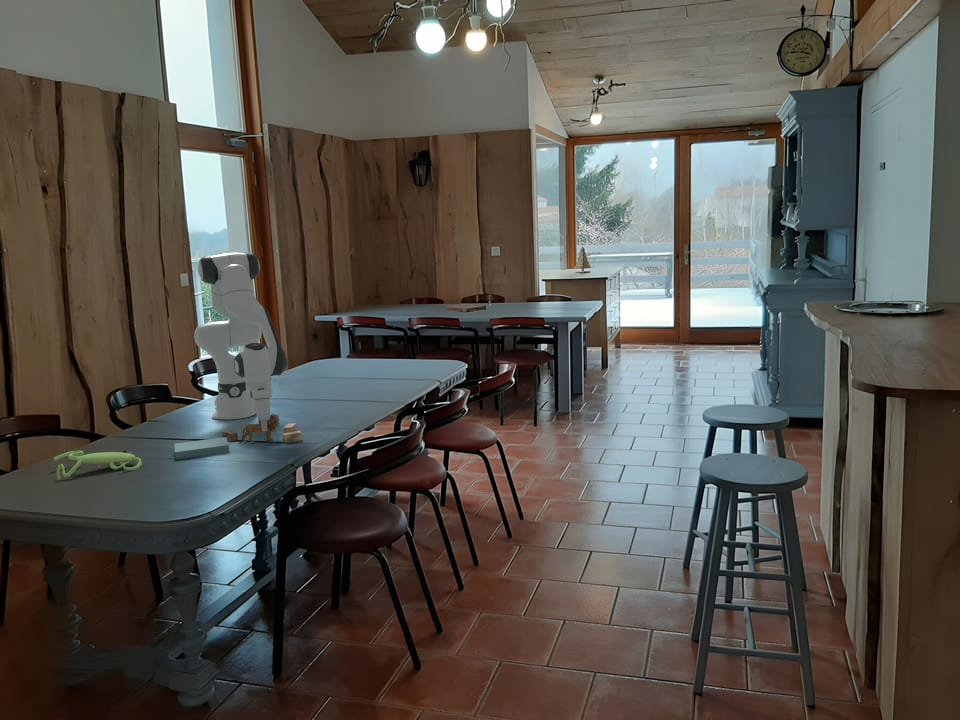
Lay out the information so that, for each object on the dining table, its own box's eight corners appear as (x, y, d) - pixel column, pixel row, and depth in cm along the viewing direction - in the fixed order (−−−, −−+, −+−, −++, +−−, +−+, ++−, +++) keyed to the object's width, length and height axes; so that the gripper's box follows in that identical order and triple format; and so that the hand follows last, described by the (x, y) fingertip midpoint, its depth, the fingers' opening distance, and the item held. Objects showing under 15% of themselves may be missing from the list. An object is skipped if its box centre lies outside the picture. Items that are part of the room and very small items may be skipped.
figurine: (57, 467, 257) (55, 450, 256) (145, 456, 265) (143, 440, 265) (46, 483, 240) (44, 465, 239) (141, 470, 248) (139, 453, 247)
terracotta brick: (289, 431, 290) (288, 423, 289) (297, 431, 290) (296, 423, 289) (283, 435, 284) (283, 427, 283) (291, 435, 284) (291, 427, 283)
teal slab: (175, 450, 269) (174, 443, 269) (227, 443, 275) (226, 436, 275) (175, 459, 258) (174, 452, 258) (229, 452, 264) (228, 444, 264)
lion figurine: (278, 436, 283) (276, 412, 281) (282, 439, 278) (280, 414, 277) (237, 443, 275) (234, 418, 274) (240, 446, 271) (238, 421, 269)
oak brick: (285, 443, 273) (284, 435, 272) (282, 441, 275) (282, 433, 275) (302, 440, 276) (301, 432, 275) (299, 438, 278) (298, 430, 278)
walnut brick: (222, 439, 282) (221, 431, 282) (229, 437, 284) (229, 429, 284) (230, 442, 278) (230, 434, 278) (238, 440, 280) (237, 432, 280)
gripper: (247, 386, 283) (251, 423, 285) (252, 395, 264) (256, 435, 266) (265, 384, 285) (268, 421, 287) (272, 393, 266) (275, 432, 268)
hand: (263, 428), depth 277 cm, fingers open, 8 cm apart
